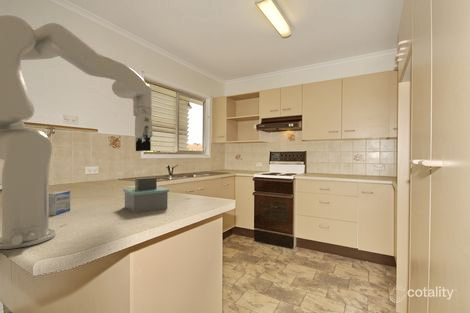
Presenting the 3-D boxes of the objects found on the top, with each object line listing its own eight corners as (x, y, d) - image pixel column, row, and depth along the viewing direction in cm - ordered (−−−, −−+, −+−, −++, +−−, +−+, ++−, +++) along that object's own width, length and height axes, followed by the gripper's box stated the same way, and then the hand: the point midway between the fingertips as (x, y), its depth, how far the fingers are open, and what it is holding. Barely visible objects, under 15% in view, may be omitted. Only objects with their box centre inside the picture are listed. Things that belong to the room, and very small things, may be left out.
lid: (169, 194, 97) (169, 178, 97) (133, 198, 87) (133, 180, 87) (156, 189, 108) (156, 175, 108) (123, 193, 98) (123, 177, 98)
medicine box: (55, 215, 87) (55, 193, 87) (44, 215, 87) (44, 193, 87) (70, 210, 95) (70, 190, 95) (60, 210, 95) (60, 190, 95)
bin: (167, 209, 97) (167, 191, 97) (134, 215, 88) (134, 195, 88) (155, 204, 108) (155, 188, 108) (124, 208, 98) (124, 191, 98)
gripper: (158, 110, 93) (158, 150, 93) (144, 115, 106) (145, 151, 106) (139, 108, 88) (140, 150, 88) (128, 114, 101) (128, 151, 101)
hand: (142, 150), depth 97 cm, fingers open, 9 cm apart
